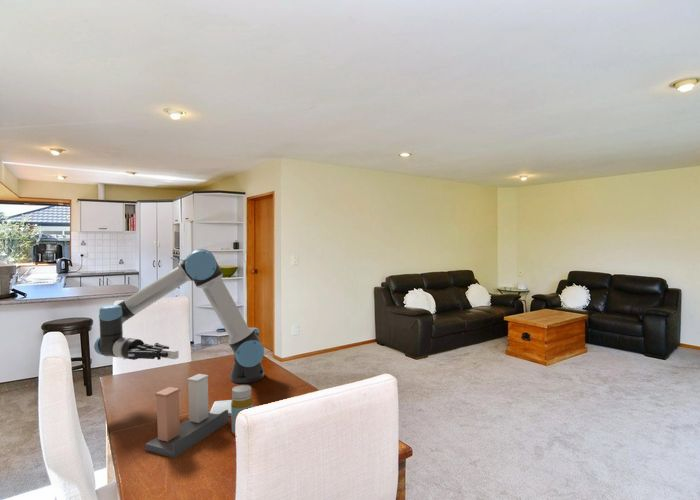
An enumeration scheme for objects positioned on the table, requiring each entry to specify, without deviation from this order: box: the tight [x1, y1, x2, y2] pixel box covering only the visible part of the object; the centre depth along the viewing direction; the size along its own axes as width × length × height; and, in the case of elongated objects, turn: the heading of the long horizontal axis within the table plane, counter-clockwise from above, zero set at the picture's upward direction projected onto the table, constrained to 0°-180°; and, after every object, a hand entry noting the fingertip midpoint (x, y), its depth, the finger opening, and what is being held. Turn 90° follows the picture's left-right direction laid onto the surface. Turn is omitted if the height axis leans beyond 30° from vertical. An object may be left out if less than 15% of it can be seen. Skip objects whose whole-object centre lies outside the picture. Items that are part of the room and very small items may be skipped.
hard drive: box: [209, 399, 232, 417], centre depth 149 cm, size 2×8×12 cm
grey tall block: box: [186, 373, 210, 423], centre depth 136 cm, size 5×4×15 cm
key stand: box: [144, 410, 229, 459], centre depth 130 cm, size 24×12×4 cm, turn 158°
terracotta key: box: [155, 386, 181, 442], centre depth 124 cm, size 5×4×15 cm
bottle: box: [230, 384, 254, 437], centre depth 131 cm, size 7×7×15 cm
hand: (176, 354), depth 140 cm, fingers closed
